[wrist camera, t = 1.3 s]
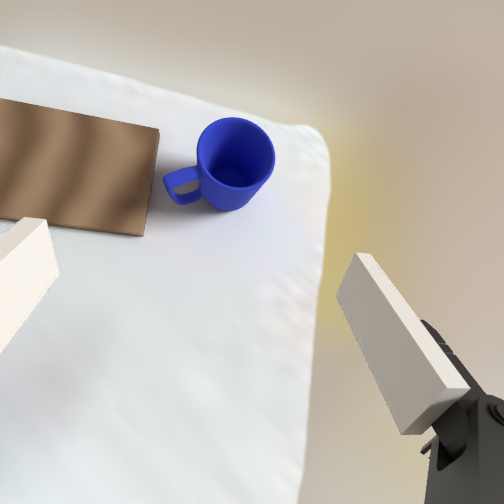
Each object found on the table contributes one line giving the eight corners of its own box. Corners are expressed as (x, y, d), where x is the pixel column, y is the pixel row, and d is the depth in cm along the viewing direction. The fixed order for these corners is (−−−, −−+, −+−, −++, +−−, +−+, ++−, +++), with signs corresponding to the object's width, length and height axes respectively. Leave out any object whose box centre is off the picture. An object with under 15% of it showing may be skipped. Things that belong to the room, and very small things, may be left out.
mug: (158, 182, 37) (145, 141, 28) (240, 153, 40) (255, 107, 31) (183, 238, 37) (180, 216, 27) (265, 205, 40) (288, 175, 30)
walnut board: (-22, 215, 33) (-32, 211, 31) (8, 106, 35) (0, 98, 34) (143, 236, 36) (141, 233, 34) (159, 135, 38) (158, 128, 37)
